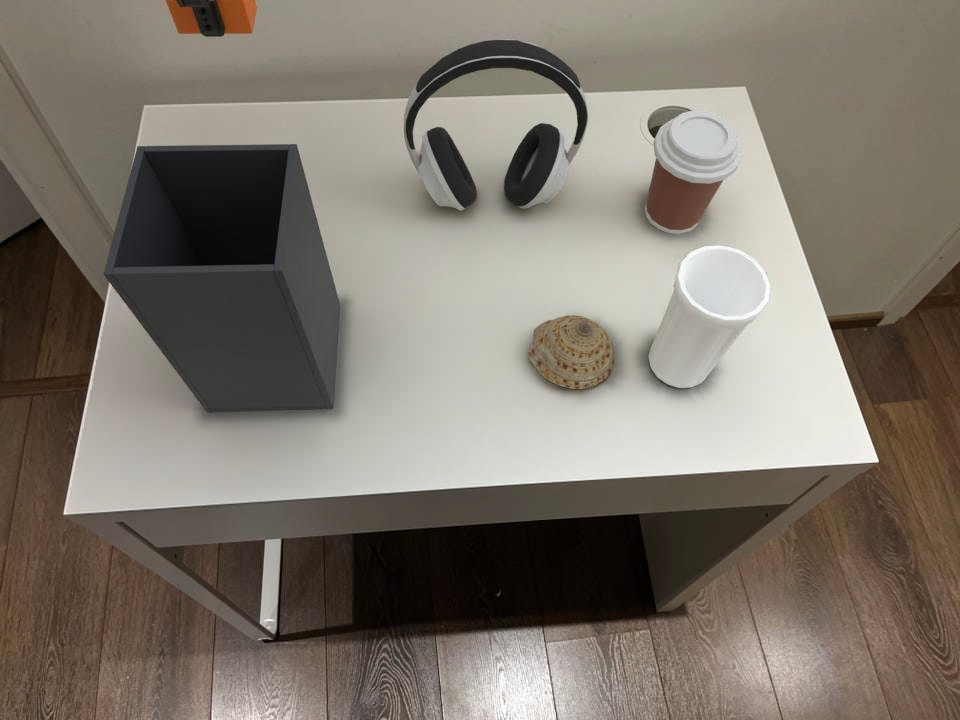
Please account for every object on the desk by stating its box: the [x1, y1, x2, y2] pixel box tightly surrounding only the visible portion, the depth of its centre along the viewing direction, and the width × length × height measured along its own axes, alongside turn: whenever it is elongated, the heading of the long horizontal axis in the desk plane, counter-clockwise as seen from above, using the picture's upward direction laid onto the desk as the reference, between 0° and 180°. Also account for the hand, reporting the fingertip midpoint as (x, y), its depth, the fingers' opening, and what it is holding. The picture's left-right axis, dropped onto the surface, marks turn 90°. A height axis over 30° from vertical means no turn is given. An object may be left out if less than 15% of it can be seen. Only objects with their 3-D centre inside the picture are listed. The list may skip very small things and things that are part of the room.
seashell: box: [527, 314, 615, 390], centre depth 71 cm, size 8×6×8 cm
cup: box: [648, 245, 772, 389], centre depth 66 cm, size 8×8×14 cm
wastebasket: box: [103, 143, 341, 413], centre depth 61 cm, size 12×12×23 cm
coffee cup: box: [644, 109, 743, 235], centre depth 76 cm, size 9×9×12 cm
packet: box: [165, 0, 258, 35], centre depth 66 cm, size 7×4×4 cm, turn 92°
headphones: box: [403, 38, 589, 211], centre depth 73 cm, size 19×8×20 cm, turn 95°
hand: (217, 18), depth 67 cm, fingers closed on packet, 4 cm apart
